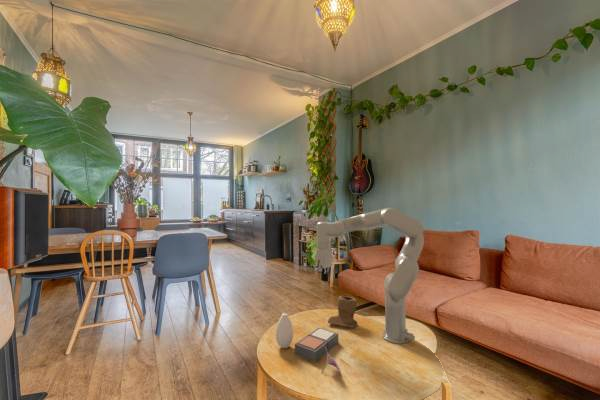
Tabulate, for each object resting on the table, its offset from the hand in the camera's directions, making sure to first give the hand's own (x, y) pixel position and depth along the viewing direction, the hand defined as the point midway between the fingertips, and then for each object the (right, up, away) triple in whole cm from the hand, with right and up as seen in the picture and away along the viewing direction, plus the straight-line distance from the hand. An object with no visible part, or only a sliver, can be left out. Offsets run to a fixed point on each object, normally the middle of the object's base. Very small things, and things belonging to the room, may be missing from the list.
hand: (324, 280), depth 143 cm
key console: (-5, -26, -16) cm, 31 cm away
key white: (-2, -24, -13) cm, 27 cm away
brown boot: (+11, -27, +9) cm, 30 cm away
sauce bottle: (-20, -27, -15) cm, 37 cm away
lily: (0, -27, -34) cm, 43 cm away
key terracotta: (-8, -24, -20) cm, 32 cm away
